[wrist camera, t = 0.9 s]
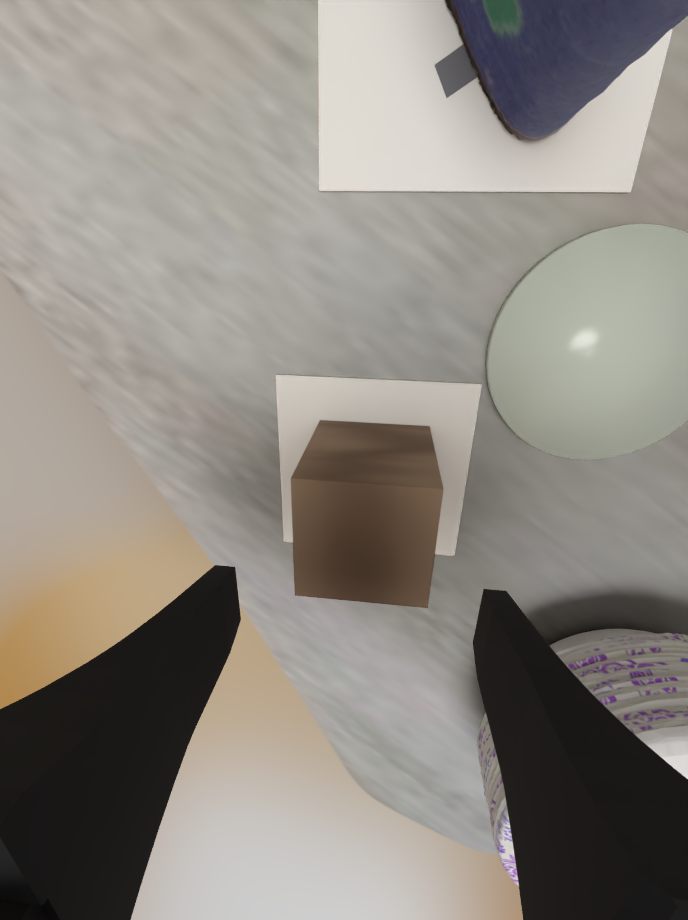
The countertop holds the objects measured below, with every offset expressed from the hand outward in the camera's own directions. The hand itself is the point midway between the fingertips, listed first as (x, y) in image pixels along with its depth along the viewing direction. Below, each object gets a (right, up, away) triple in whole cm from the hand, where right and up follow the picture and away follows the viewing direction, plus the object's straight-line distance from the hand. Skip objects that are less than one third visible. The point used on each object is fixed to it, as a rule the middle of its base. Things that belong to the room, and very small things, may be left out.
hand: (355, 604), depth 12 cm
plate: (+10, +9, +5) cm, 14 cm away
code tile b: (+1, +4, +8) cm, 9 cm away
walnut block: (+1, +4, +8) cm, 9 cm away
